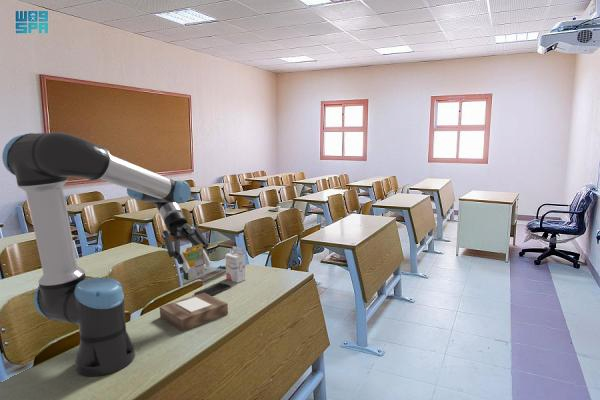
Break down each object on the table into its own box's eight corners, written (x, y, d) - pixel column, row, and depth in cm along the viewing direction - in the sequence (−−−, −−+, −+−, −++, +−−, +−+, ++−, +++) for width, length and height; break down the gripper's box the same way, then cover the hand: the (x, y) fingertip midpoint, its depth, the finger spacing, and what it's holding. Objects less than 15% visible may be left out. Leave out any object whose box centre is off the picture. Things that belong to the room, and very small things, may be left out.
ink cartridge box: (225, 279, 180) (224, 247, 178) (234, 276, 184) (232, 245, 182) (237, 283, 175) (235, 250, 173) (246, 280, 178) (244, 248, 176)
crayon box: (199, 273, 144) (197, 242, 143) (205, 274, 142) (203, 243, 141) (183, 279, 138) (181, 246, 137) (188, 280, 137) (186, 248, 135)
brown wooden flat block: (182, 331, 130) (181, 318, 129) (160, 317, 141) (159, 305, 140) (228, 314, 142) (227, 302, 142) (204, 302, 153) (203, 291, 153)
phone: (192, 293, 161) (219, 282, 174) (193, 296, 162) (219, 285, 174) (206, 297, 157) (232, 285, 169) (206, 299, 157) (232, 288, 169)
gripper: (194, 219, 156) (219, 266, 147) (143, 227, 142) (168, 281, 133) (201, 207, 151) (227, 255, 142) (149, 214, 137) (174, 269, 128)
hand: (198, 267), depth 137 cm, fingers closed on crayon box, 7 cm apart
